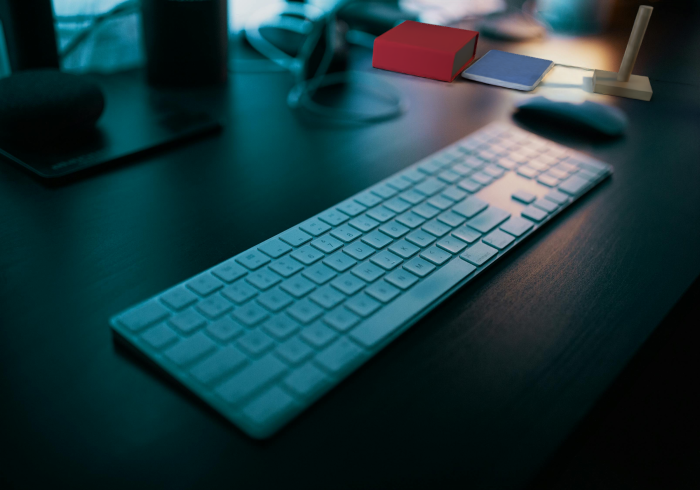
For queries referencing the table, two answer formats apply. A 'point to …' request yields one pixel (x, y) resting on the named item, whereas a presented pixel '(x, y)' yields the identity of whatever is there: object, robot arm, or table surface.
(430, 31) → the red box
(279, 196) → the table surface
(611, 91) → the stand
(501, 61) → the tablet
